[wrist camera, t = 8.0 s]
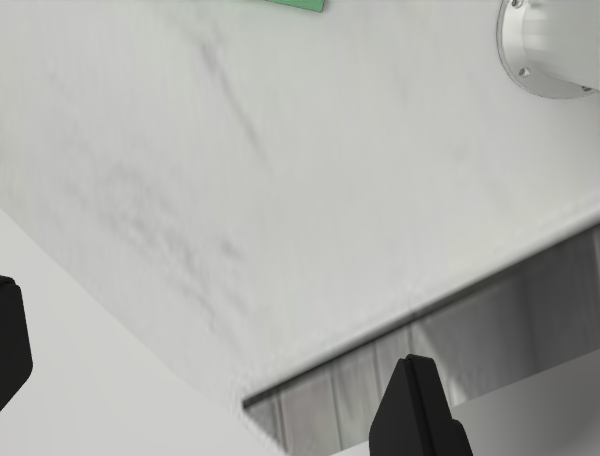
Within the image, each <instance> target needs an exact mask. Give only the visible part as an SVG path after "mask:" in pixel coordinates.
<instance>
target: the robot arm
mask: <svg viewBox="0 0 600 456" xmlns="http://www.w3.org/2000/svg"><path fill="white" fill-rule="evenodd" d="M512 1H513V0H504V1H503V4H502V7H501V11H500V15H499V20H498V30H497V41H498V49H499V54H500V57H501V60H502V63H503V66H504V67H505V69H506V70H507V72H508V74H509V75H510V77H511V78H512V79H513V80H514V81H515V82H516V83H517V84H518V85H519V86H521V87H522V88H524V89H526V90H527V91H529V92H531V93H534V94H537V95H539V96H542V97H547V98H552V99H572V98H577V97H583V96H586V95H589V94H592V93H595V92H597V91H600V0H516V4H515V6H512ZM521 69H523V73H522V74H521V75H519V73H520V71H521ZM582 86H583V87H582ZM32 368H33V362H32V357H31V349H30V343H29V337H28V331H27V325H26V319H25V312H24V306H23V300H22V294H21V289H20V287H19V286H18V285H16V284H15V281H14V280H13V279H12V278H10V277H6V276H1V275H0V411H1V410H2V409H3V408H4V407H5V405H6V404H7V403H8V402H9V401H10V400H11V398H12V397H13V396H14V395H15V394H16V392H17V391H18V390H19V389H20V388H21V387H22V385H23V384H24V383H25V382H26V381H27V379H28V378H29V376H30V374H31V372H32ZM369 449H370V456H473V453H472V450H471V447H470V444H469V442H468V438H467V435H466V432H465V430H464V428H463V425H462V424H461V423H460V422H459V421H458V420H455V419H452V416H451V413H450V410H449V407H448V403H447V400H446V397H445V394H444V390H443V387H442V384H441V381H440V377H439V374H438V371H437V368H436V365H435V362H434V360H433V359H432V358H428V357H423V356H418V355H413V354H408V355H407V357H406V358H405V359H401V358H400V359H399V360H398V362H397V365H396V367H395V369H394V372H393V374H392V377H391V379H390V382H389V384H388V386H387V389H386V391H385V394H384V396H383V399H382V401H381V403H380V406H379V408H378V411H377V413H376V416H375V418H374V420H373V423H372V425H371V428H370V433H369Z"/></svg>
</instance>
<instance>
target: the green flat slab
mask: <svg viewBox="0 0 600 456" xmlns="http://www.w3.org/2000/svg"><path fill="white" fill-rule="evenodd" d="M266 1H271V2H276V3H280V4H285V5H290V6H294V7H299V8H304V9H308V10H313V11H318V12H322V10H323V4H324V0H266Z"/></svg>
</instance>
